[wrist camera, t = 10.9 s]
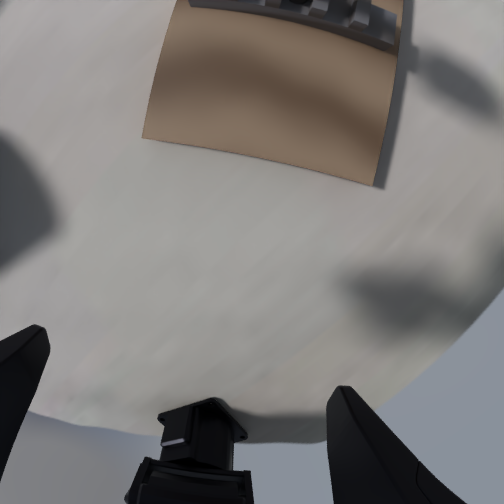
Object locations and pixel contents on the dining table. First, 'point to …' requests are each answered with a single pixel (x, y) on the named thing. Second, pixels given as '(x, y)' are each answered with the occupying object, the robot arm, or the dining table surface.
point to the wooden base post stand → (279, 80)
